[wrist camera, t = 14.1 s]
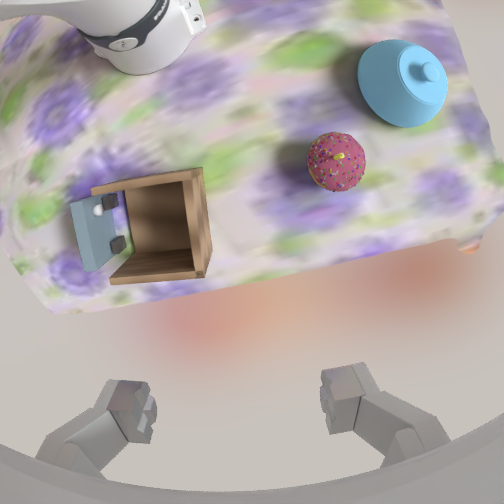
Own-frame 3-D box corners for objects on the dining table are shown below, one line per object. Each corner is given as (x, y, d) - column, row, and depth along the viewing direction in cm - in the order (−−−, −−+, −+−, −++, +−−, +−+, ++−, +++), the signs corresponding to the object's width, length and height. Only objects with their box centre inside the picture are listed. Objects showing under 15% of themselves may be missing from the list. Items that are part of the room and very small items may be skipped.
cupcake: (291, 172, 43) (309, 178, 32) (315, 123, 41) (340, 113, 30) (339, 197, 45) (370, 211, 33) (362, 150, 42) (399, 150, 31)
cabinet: (88, 186, 42) (51, 197, 32) (202, 167, 43) (189, 170, 32) (102, 261, 47) (72, 287, 36) (212, 250, 47) (204, 277, 36)
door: (125, 250, 46) (104, 269, 38) (108, 251, 46) (84, 271, 38) (115, 190, 43) (89, 199, 34) (97, 194, 43) (69, 203, 34)
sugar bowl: (335, 82, 39) (363, 62, 28) (382, 31, 35) (415, 7, 24) (401, 146, 42) (441, 147, 31) (440, 91, 39) (481, 83, 28)
